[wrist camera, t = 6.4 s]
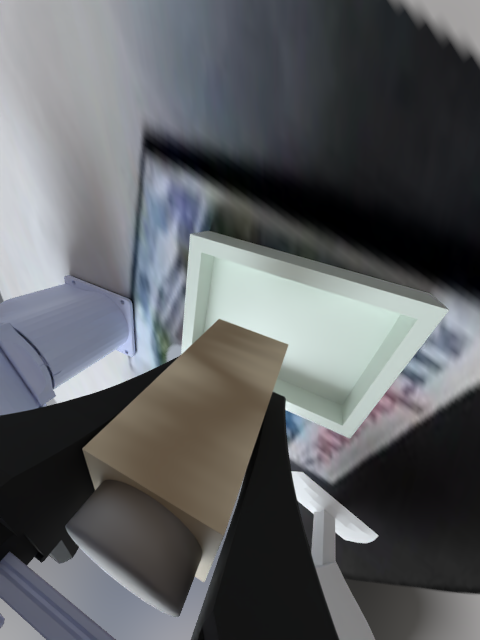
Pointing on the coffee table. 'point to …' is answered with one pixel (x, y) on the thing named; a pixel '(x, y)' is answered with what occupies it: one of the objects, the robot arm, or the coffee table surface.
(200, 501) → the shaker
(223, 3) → the coffee table surface
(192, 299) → the tray
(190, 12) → the coffee table surface
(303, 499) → the heart sculpture
